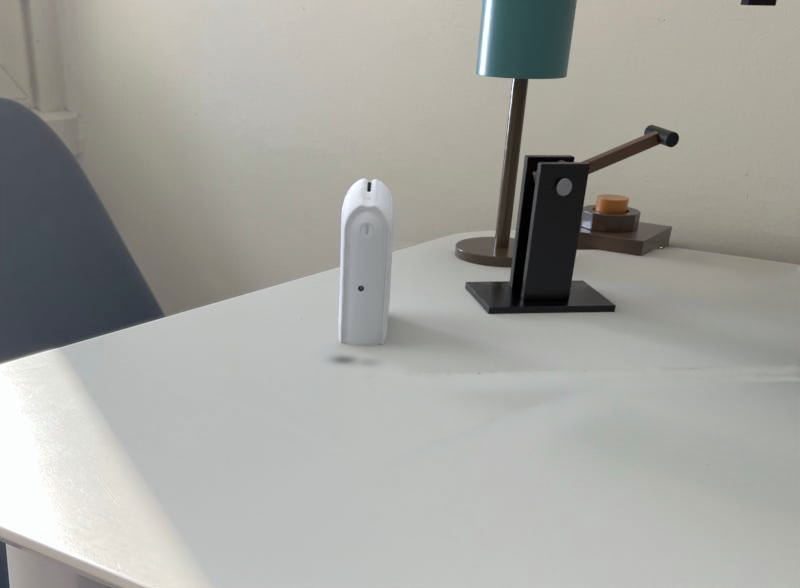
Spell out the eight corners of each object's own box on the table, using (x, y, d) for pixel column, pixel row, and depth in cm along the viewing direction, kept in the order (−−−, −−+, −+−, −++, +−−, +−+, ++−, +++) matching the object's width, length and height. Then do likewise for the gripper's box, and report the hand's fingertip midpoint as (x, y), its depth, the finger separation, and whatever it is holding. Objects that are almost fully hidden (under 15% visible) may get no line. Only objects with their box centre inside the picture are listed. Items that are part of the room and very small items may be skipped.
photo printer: (387, 354, 82) (396, 193, 75) (335, 352, 82) (340, 191, 75) (387, 318, 91) (396, 170, 84) (340, 316, 91) (345, 169, 84)
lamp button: (630, 213, 115) (633, 196, 114) (619, 218, 113) (622, 201, 112) (601, 209, 117) (603, 193, 116) (589, 213, 115) (592, 197, 114)
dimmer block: (668, 245, 118) (675, 209, 115) (640, 261, 111) (647, 223, 109) (573, 232, 123) (578, 197, 121) (540, 246, 116) (545, 209, 114)
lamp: (545, 254, 113) (581, -8, 99) (545, 275, 105) (585, -7, 91) (457, 249, 114) (480, -10, 100) (451, 269, 106) (475, -9, 92)
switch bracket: (581, 292, 100) (603, 151, 92) (613, 318, 92) (640, 167, 85) (464, 294, 98) (478, 151, 91) (487, 320, 91) (504, 167, 84)
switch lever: (658, 142, 91) (654, 115, 89) (681, 151, 87) (677, 122, 85) (533, 195, 92) (527, 169, 91) (550, 206, 88) (544, 178, 86)
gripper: (752, -328, 84) (689, 2, 97) (836, -372, 73) (753, 6, 87) (835, -323, 85) (761, 4, 98) (930, -366, 74) (833, 8, 87)
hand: (757, 5), depth 92 cm, fingers closed
